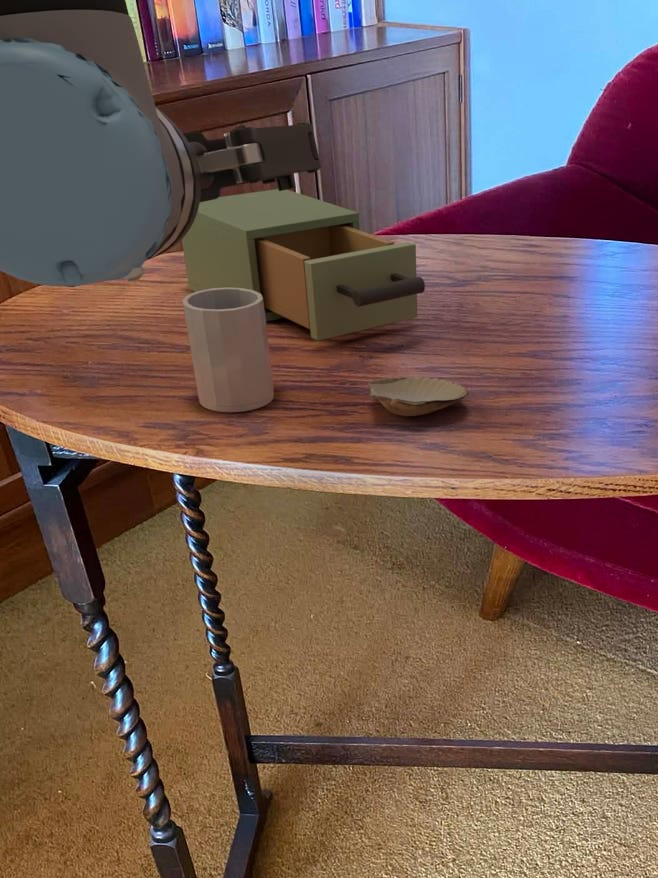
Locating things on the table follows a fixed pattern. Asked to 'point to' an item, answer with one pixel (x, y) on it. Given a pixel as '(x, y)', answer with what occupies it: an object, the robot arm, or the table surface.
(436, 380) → the seashell
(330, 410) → the table surface
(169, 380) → the table surface
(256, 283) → the cabinet
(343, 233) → the drawer
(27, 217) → the robot arm
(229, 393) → the canister
